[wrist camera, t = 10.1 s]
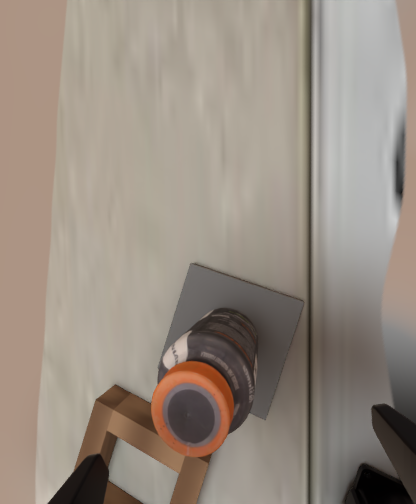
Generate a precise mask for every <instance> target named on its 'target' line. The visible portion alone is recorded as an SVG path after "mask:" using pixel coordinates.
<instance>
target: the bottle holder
mask: <svg viewBox="0 0 416 504" xmlns="http://www.w3.org/2000/svg"><path fill="white" fill-rule="evenodd" d="M117 437H119V438H121V439H122V440H124V441H126V442H127V443H129V444H131V445H132V446H134V447H136V448H137V449H139V450H141V451H142V452H144V453H146V454H147V455H149V456H151V457H152V458H154V459H156V460H157V461H159V462H161V463H162V464H164V465H166V466H167V467H169V468H171V469H172V470H174V471H176V472H178V473H179V477H178V480H177V483H176V486H175V489H174V492H173V495H172V499H171V502H170V504H196V502H197V499H198V496H199V493H200V490H201V486H202V483H203V480H204V477H205V474H206V471H207V468H208V465H209V462H210V458H211V455H212V453H211V454H209V455H206V456H203V457H189V456H185V455H182V454H180V453H178V452H176V451H174V450H173V449H171V447H169V446H168V445H167V444H166V443H165V442H164V441H163V440H162V438H161V437H160V436H159V434H158V432H157V430H156V428H155V426H154V423H153V419H152V414H151V404H150V403H148V402H146V401H145V400H143V399H141V398H139V397H137V396H135V395H133V394H131V393H130V392H128V391H126V390H124V389H122V388H120V387H118V386H116V385H114V386H113V387H111V388H110V389H109V390H108V391H106V392H105V393H104V394H103V395H101V396H100V397H99V398H97V399H96V401H95V404H94V407H93V410H92V413H91V417H90V420H89V423H88V426H87V430H86V433H85V436H84V439H83V443H82V446H81V449H80V452H79V456H78V459H77V462H76V465H75V469H74V471H75V470H76V468H77V467H78V466H79V465H80V463H81V462H82V461H83V460H84V459H85V457H87V456H88V455H90V454H96V453H100V454H101V455H102V457H103V459H104V461H105V463H106V465H107V467H108V465H109V462H110V459H111V455H112V452H113V449H114V446H115V443H116V439H117ZM104 504H142V503H141V502H139V501H138V500H136V499H135V498H133V497H132V496H130V495H129V494H127V493H126V492H124V491H123V490H121V489H120V488H118V487H117V486H115V485H114V484H112V483H111V482H109V481H108V484H107V489H106V494H105V499H104Z"/></svg>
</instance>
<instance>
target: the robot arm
mask: <svg viewBox="0 0 416 504" xmlns="http://www.w3.org/2000/svg"><path fill="white" fill-rule="evenodd" d="M372 425H373V429H374V431H375V433H376V435H377V437H378V439H379V441H380V442H381V444H382V446H383V448H384V450H385V452H386V453H387V455H388V457H389V459H390V461H391V463H392V464H393V466H394V468H395V470H396V472H397V474H398V475H399V477H400V479H401V481H402V482H401V481H399V480H397V479H395V478H393V477H391V476H389V475H387V474H385V473H383V472H380V471H378V470H376V469H374V468H372V467H370V466H368V465H362V466H360V468H359V471H358V474H357V477H356V480H355V483H354V486H353V488H351V489H350V490H349V493H348V496H347V499H346V502H345V504H416V424H415V423H414V422H412V421H411V420H409V419H408V418H406V417H405V416H404V415H402V414H400V413H399V412H398V411H396V410H395V409H393V408H392V407H390V406H389V405H387V404H378V405H373V406H372ZM365 472H369V474H365ZM108 478H109V470H108V467H107V465H106V463H105V461H104V459H103V457H102V455H101V454H100V453H96V454H90V455H88V456H87V457H85V459H84V460H83V461H82V462H81V463H80V465H79V466H78V467H77V468H76V470H75V471H74V472H73V473H72V474H71V476H70V477H69V478H68V479H67V481H66V482H65V483H64V484H63V485H62V487H61V488H60V489H59V490H58V491H57V493H56V494H55V495H54V496H53V498H52V499H51V500H50V501H49V502H48V504H104V499H105V494H106V489H107V484H108Z"/></svg>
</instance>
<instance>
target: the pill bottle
mask: <svg viewBox="0 0 416 504" xmlns="http://www.w3.org/2000/svg"><path fill="white" fill-rule="evenodd" d="M258 348H259V341H258V334H257V331H256V329H255V327H254V325H253V323H252V322H251V321H250V320H249V318H247V317H246V316H245V315H244V314H243V313H241V312H239V311H237V310H234V309H231V308H218V309H214V310H212V311H210V312H209V313H207V314H206V315H204V316H203V317H202V318H201V319H200V320H199V321H198V322H197V323H195V324H194V325H193V326H192V327H191V328H190V329H189V330H188V331H187V332H185V333H184V334H183V335H182V336H181V337H180V338H179V339H178V340H177V341H175V342H174V343H173V344H172V345H171V346H170V348H169V349H168V350H167V352H166V353H165V355H164V356H163V358H162V360H161V363H160V367H159V371H158V385H157V387H156V389H155V391H154V393H153V397H152V402H151V414H152V419H153V423H154V426H155V428H156V430H157V432H158V434H159V436H160V437H161V438H162V440H163V441H164V442H165V443H166V444H167V445H168V446H169V447H171V449H173V450H174V451H176V452H178V453H180V454H182V455H185V456H189V457H203V456H206V455H209V454H211V453H213V452H214V451H216V450H217V449H218V448H219V447H220V446H221V445H222V444H223V442H224V440H225V439H226V437H227V435H228V434H230V433H232V432H233V431H235V430H236V429H237V428H238V427H240V426H241V425H242V423H243V422H244V421H245V419H246V418H247V416H248V414H249V412H250V410H251V408H252V404H253V400H254V392H255V384H256V377H257V362H258Z"/></svg>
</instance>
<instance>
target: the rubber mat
mask: <svg viewBox="0 0 416 504" xmlns="http://www.w3.org/2000/svg"><path fill="white" fill-rule="evenodd" d="M303 305H304V302H303V301H302V300H299V299H297V298H294V297H291V296H288V295H285V294H282V293H279V292H276V291H273V290H270V289H267V288H264V287H261V286H258V285H256V284H253V283H250V282H247V281H244V280H241V279H238V278H235V277H232V276H229V275H226V274H223V273H220V272H217V271H215V270H212V269H209V268H206V267H203V266H200V265H197V264H194V263H190V266H189V270H188V273H187V276H186V279H185V282H184V286H183V289H182V292H181V295H180V298H179V301H178V305H177V308H176V311H175V314H174V317H173V321H172V324H171V327H170V330H169V333H168V336H167V340H166V343H165V346H164V349H163V352H162V356H161V359H160V362H159V365H158V369H159V367H160V363H161V360H162V358H163V356H164V355H165V353H166V352H167V350H168V349H169V348H170V346H171V345H172V344H173V343H174V342H175V341H177V340H178V339H179V338H180V337H181V336H182V335H183V334H184V333H185V332H187V331H188V330H189V329H190V328H191V327H192V326H193V325H194V324H195V323H197V322H198V321H199V320H200V319H201V318H202V317H203V316H204V315H206V314H207V313H209V312H210V311H212V310H214V309H218V308H231V309H234V310H237V311H239V312H241V313H243V314H244V315H245V316H246V317H247V318H249V320H250V321H251V322H252V323H253V325H254V327H255V329H256V331H257V334H258V341H259V348H258V362H257V377H256V384H255V392H254V400H253V404H252V408H251V410H250V412H249V413H251V414H253V415H255V416H257V417H260V418H262V419H264V420H266V418H267V415H268V411H269V408H270V405H271V402H272V399H273V396H274V393H275V390H276V387H277V384H278V381H279V378H280V375H281V372H282V369H283V366H284V363H285V360H286V357H287V354H288V351H289V348H290V344H291V341H292V338H293V335H294V332H295V329H296V326H297V323H298V320H299V317H300V314H301V311H302V308H303Z"/></svg>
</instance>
